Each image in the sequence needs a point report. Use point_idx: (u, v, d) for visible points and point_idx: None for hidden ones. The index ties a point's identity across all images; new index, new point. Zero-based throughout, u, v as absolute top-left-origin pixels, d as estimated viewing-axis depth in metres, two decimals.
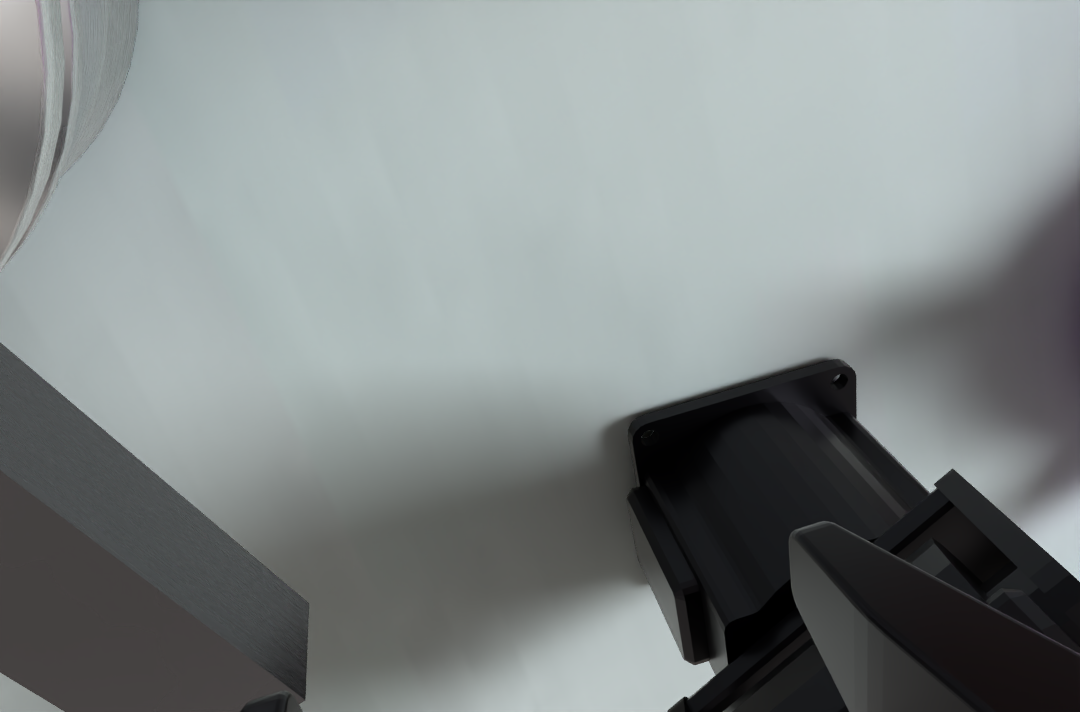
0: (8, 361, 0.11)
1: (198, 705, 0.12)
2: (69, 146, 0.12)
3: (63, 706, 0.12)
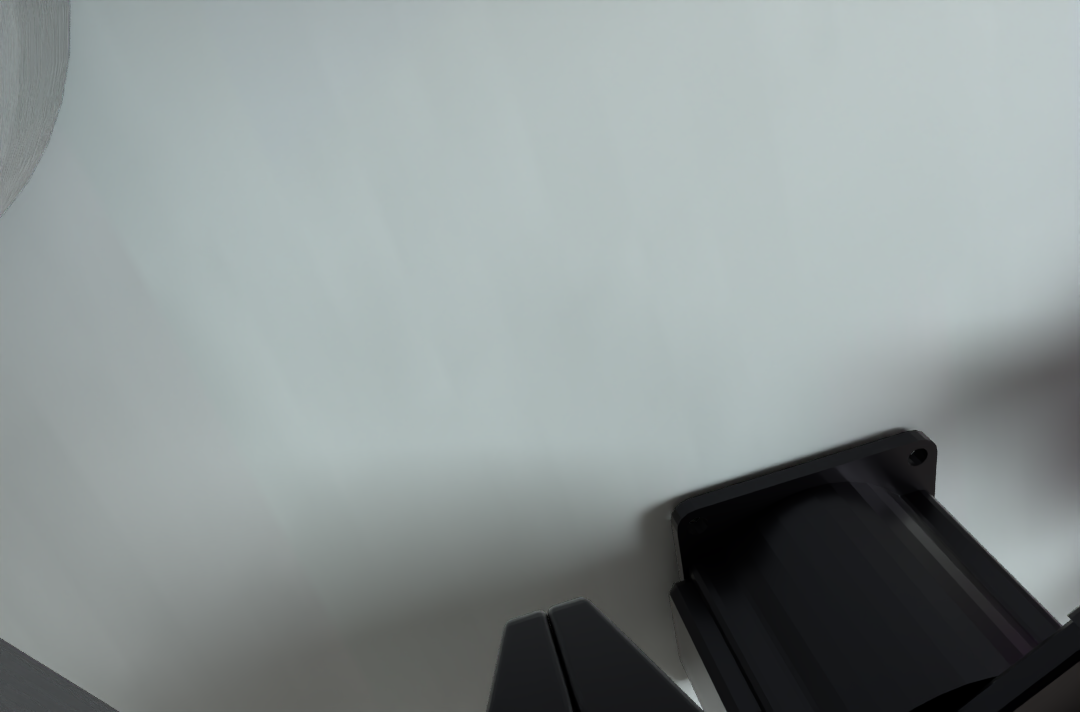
0: None
1: None
2: None
3: None
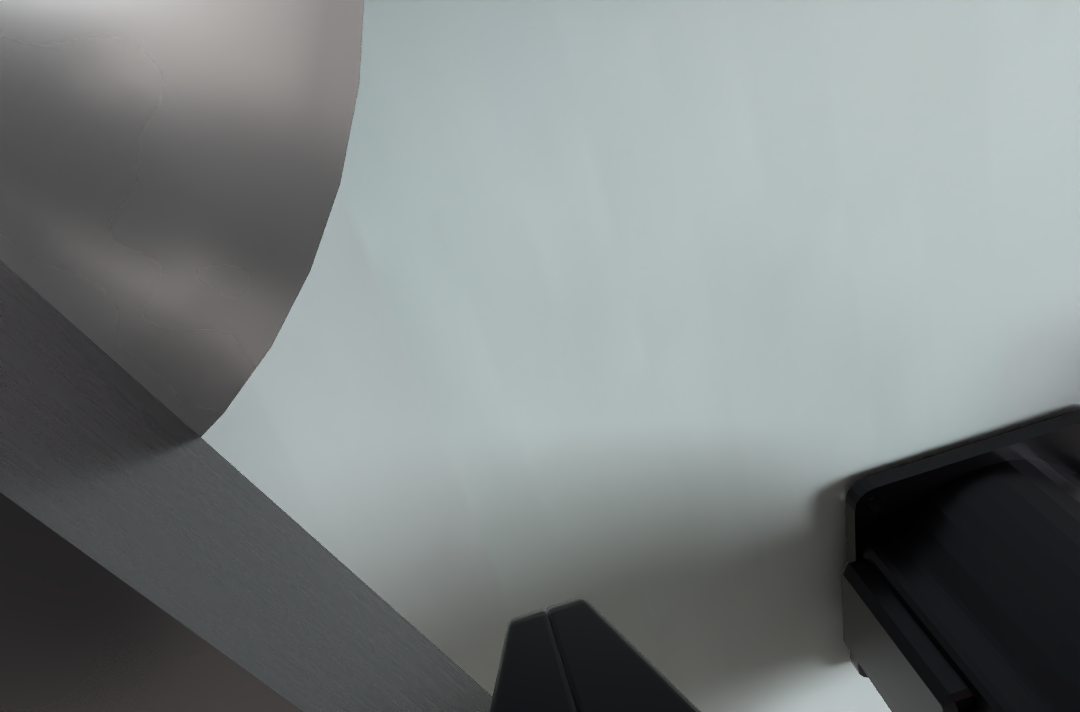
0: (261, 506, 0.07)
1: None
2: None
3: None
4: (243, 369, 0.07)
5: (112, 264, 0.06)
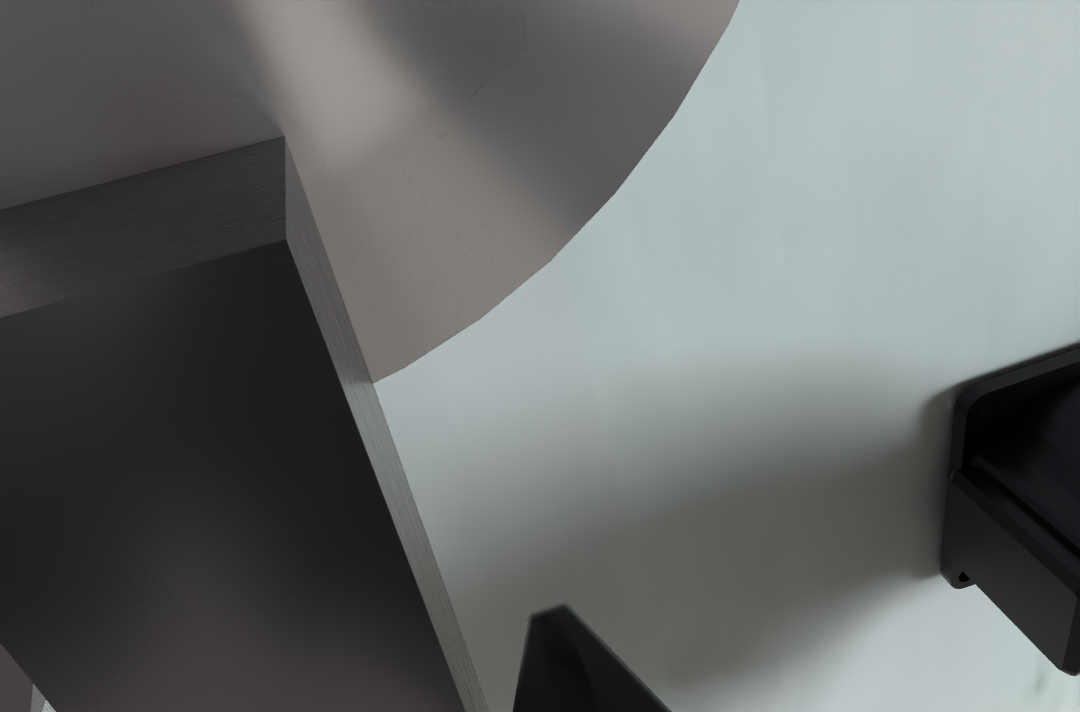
0: (400, 468, 0.07)
1: None
2: None
3: None
4: (445, 331, 0.07)
5: (388, 194, 0.06)
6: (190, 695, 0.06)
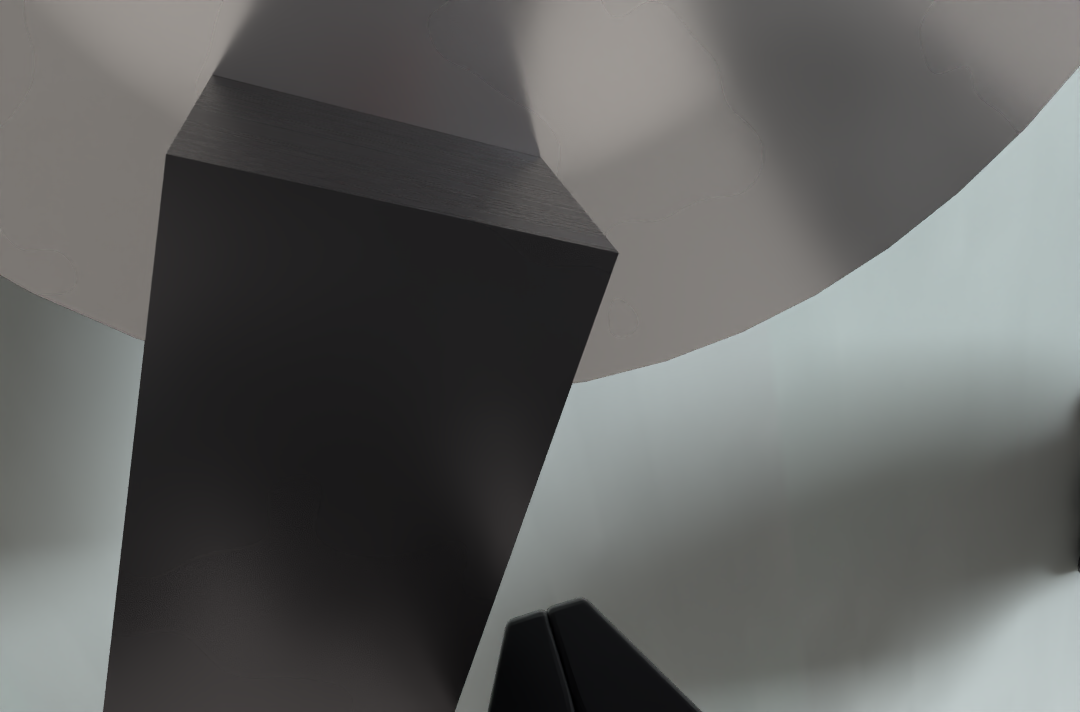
0: None
1: None
2: None
3: None
4: None
5: None
6: (244, 610, 0.05)
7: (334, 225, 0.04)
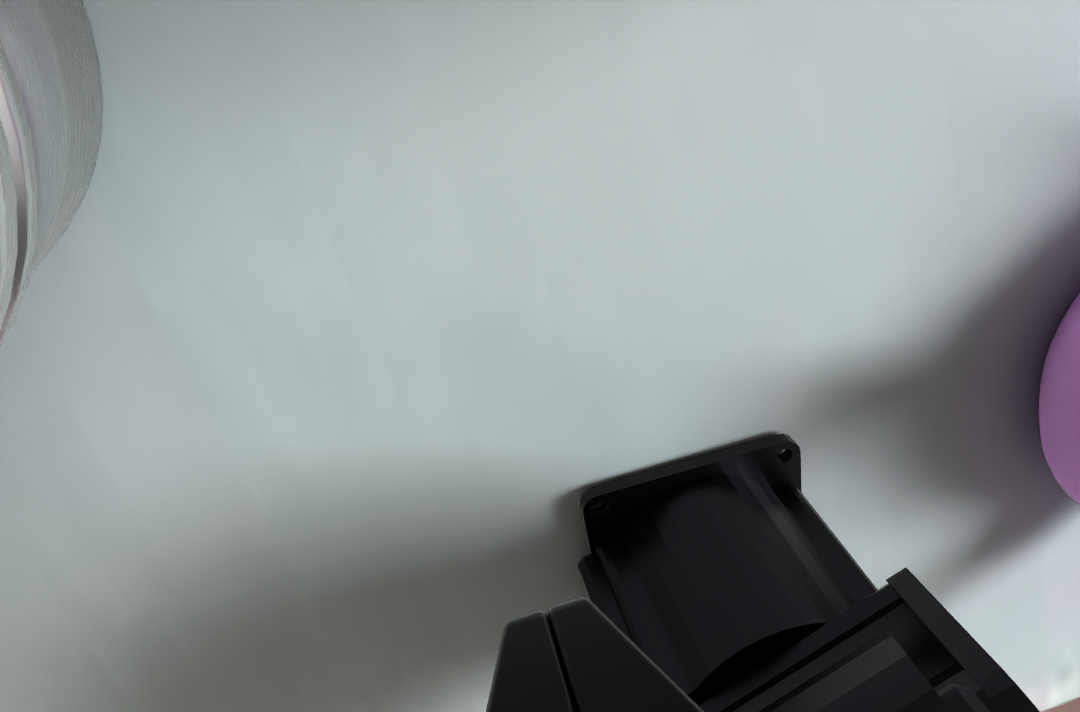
0: None
1: None
2: (25, 287, 0.13)
3: None
4: None
5: None
6: None
7: None
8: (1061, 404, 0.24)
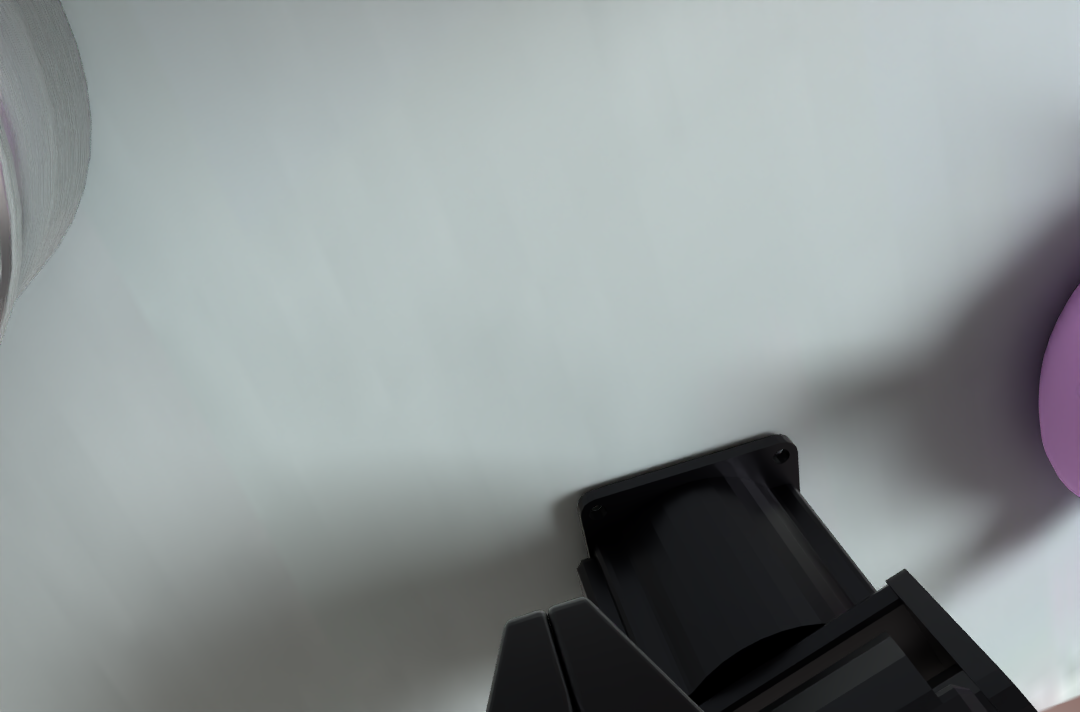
0: None
1: None
2: (11, 307, 0.13)
3: None
4: None
5: None
6: None
7: None
8: (1059, 400, 0.23)
